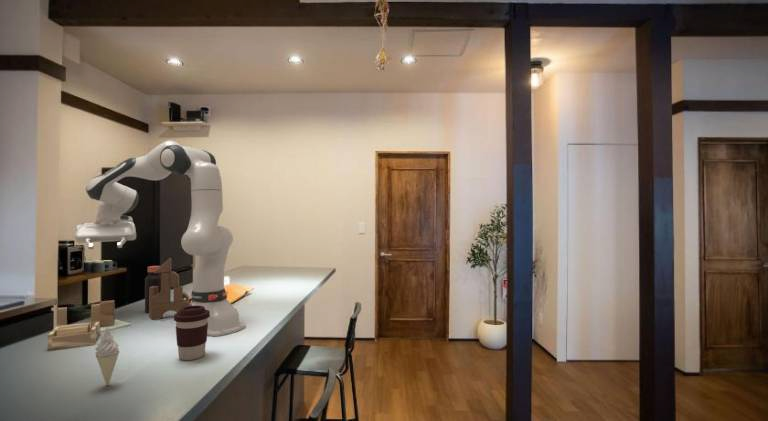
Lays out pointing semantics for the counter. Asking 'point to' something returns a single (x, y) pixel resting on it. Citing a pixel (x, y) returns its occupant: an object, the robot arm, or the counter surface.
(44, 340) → the counter surface
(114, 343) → the ice cream cone
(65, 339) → the tan piece
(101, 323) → the block
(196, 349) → the coffee cup
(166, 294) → the wooden toy
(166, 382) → the counter surface
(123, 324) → the pad
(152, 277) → the bottle
